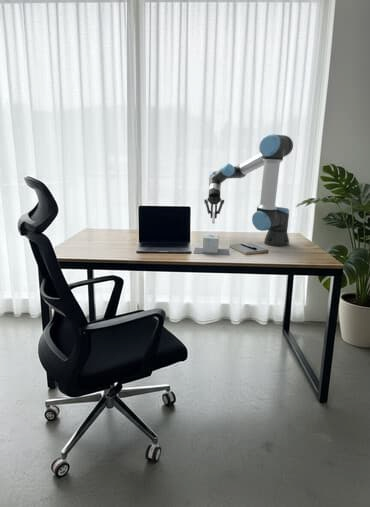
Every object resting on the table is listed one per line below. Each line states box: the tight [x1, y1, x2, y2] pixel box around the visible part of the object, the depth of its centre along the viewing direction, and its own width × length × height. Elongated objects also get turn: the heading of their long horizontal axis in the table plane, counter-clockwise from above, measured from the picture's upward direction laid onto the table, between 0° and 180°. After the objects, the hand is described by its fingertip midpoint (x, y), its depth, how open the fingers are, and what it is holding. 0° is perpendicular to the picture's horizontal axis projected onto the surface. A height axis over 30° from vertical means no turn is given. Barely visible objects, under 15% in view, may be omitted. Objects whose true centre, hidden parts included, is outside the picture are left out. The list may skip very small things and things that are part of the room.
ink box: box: [202, 233, 220, 253], centre depth 210 cm, size 9×9×12 cm
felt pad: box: [193, 247, 231, 256], centre depth 210 cm, size 20×12×1 cm, turn 84°
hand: (213, 222), depth 226 cm, fingers closed
